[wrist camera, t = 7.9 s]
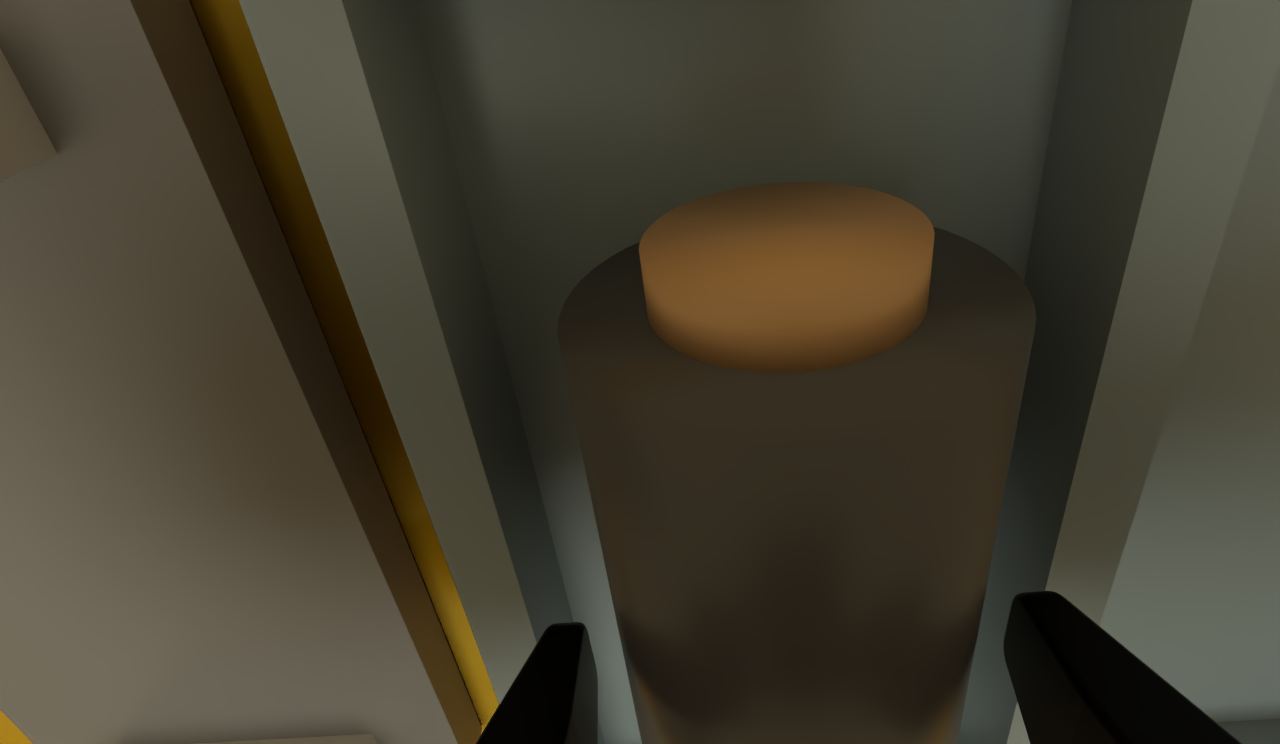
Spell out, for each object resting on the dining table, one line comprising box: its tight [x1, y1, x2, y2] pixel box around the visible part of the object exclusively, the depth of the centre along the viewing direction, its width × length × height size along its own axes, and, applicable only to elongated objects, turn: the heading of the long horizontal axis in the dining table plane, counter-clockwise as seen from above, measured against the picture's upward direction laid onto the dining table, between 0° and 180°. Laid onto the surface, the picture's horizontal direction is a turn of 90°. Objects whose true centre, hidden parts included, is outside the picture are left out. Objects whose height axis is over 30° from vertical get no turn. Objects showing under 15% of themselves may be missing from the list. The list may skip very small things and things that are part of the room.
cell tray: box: [239, 0, 1280, 744], centre depth 10 cm, size 16×15×2 cm
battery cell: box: [557, 182, 1036, 744], centre depth 9 cm, size 9×4×4 cm, turn 7°
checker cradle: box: [0, 0, 482, 744], centre depth 11 cm, size 14×8×3 cm, turn 7°
